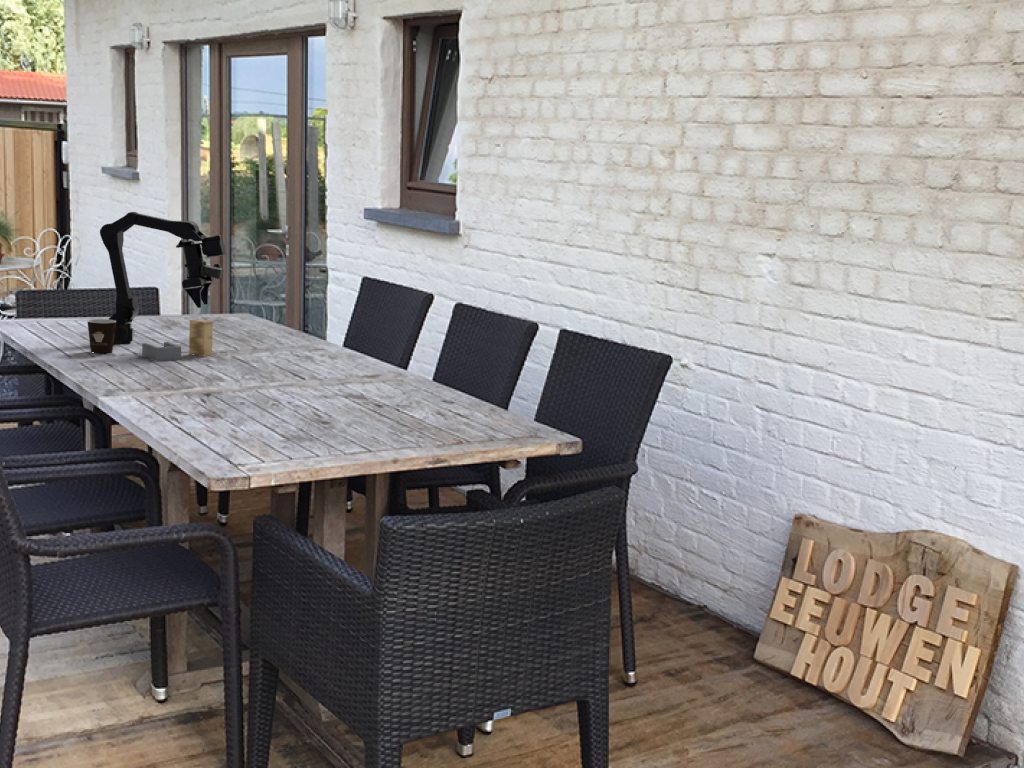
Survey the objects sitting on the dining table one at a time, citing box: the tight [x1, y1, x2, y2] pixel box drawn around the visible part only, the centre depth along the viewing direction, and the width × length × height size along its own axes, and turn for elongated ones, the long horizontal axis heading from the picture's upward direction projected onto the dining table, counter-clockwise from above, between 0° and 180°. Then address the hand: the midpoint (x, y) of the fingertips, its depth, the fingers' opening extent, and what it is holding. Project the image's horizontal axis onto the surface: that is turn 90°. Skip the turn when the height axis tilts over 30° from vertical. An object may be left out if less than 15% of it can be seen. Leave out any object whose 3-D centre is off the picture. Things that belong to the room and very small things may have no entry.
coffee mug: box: [87, 318, 128, 354], centre depth 380 cm, size 12×9×10 cm
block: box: [188, 318, 214, 357], centre depth 388 cm, size 6×4×11 cm, turn 66°
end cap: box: [141, 341, 182, 362], centre depth 379 cm, size 10×8×4 cm
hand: (202, 306), depth 401 cm, fingers open, 9 cm apart
